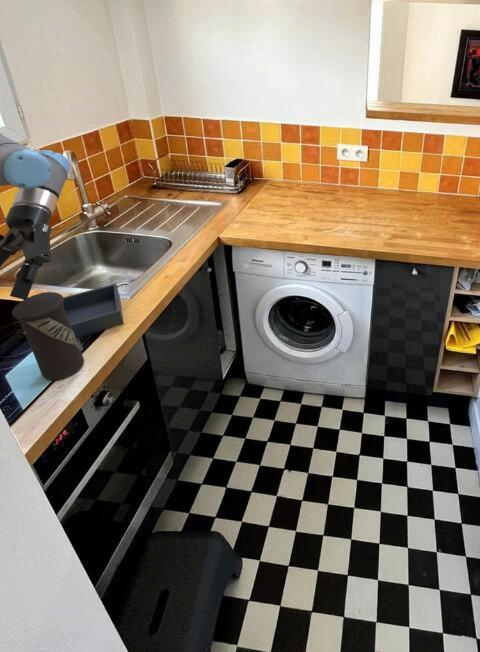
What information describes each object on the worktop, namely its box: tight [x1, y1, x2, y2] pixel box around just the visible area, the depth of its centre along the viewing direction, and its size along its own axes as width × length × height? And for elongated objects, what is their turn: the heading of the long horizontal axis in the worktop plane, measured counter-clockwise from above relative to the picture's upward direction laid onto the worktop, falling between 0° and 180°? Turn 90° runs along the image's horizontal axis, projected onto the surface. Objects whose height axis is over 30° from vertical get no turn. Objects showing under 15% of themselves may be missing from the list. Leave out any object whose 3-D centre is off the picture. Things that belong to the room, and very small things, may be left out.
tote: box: [63, 283, 125, 340], centre depth 108 cm, size 15×15×4 cm
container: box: [11, 291, 85, 382], centre depth 89 cm, size 9×9×20 cm
